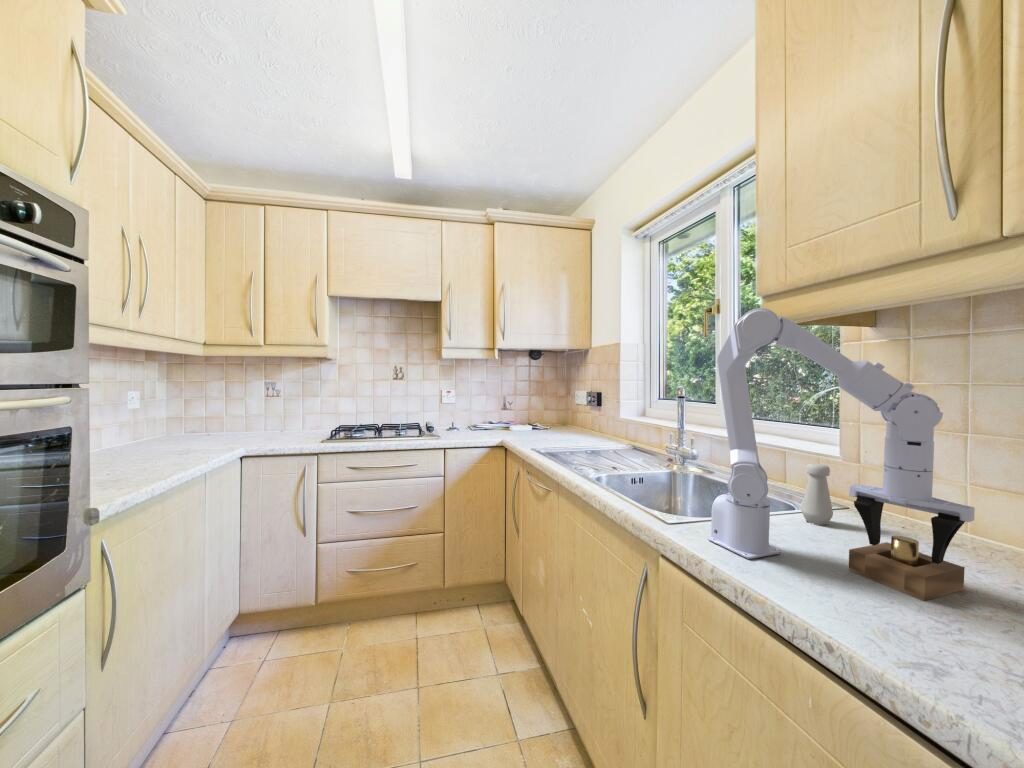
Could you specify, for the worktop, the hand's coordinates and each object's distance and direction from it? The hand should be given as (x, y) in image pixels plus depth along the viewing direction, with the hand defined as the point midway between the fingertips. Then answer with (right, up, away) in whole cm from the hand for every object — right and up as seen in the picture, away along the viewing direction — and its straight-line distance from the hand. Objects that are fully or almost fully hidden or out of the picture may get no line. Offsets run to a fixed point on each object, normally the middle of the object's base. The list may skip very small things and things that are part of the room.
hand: (904, 552), depth 67 cm
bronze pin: (0, -4, 0) cm, 4 cm away
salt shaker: (+5, -4, +26) cm, 27 cm away
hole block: (0, -4, 0) cm, 4 cm away
